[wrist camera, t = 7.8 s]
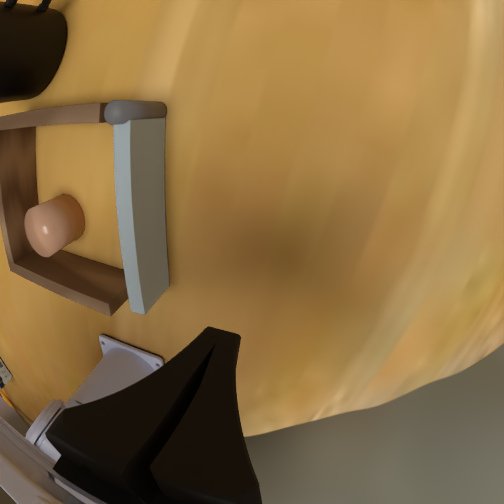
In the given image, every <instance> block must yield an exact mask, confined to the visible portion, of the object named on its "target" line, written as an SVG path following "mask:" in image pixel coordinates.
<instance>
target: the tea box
mask: <svg viewBox="0 0 504 504" xmlns="http://www.w3.org/2000/svg"><path fill="white" fill-rule="evenodd" d="M11 378H12V375H11V374H10V372H9V371H8V370H7V368H6V367H5V365H4V364H3V362H2V360H1V359H0V390H1V389H2V388H3V387H4V386H5V385H6V384H7V383H8V381H9V380H10V379H11Z"/></svg>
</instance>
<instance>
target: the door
mask: <svg viewBox="0 0 504 504" xmlns="http://www.w3.org/2000/svg"><path fill="white" fill-rule="evenodd" d="M166 114H167V107H166V105H165V104H164V103H162V102H156V101H132V100H113V101H111V102H109V103H108V104H107V106H106V108H105V111H104V117H105V120H106V122H107V123H108V124H110V125H114V172H115V191H116V205H117V217H118V227H119V236H120V245H121V252H122V260H123V267H124V274H125V280H126V286H127V292H128V297H129V303H130V308H131V311H132V312H135V313H139V314H143V315H145V314H146V313H147V312H148V311H149V310H150V308H151V307H152V306H153V305H154V304H155V302H156V301H157V300H158V299H159V298H160V296H161V295H162V294H163V293H164V292H165V290H166V289H167V288H168V287H169V286H170V285H169V272H168V258H167V241H166V219H165V116H166Z"/></svg>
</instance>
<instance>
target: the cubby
mask: <svg viewBox="0 0 504 504" xmlns="http://www.w3.org/2000/svg"><path fill="white" fill-rule="evenodd" d="M107 104H108V103H92V104H80V105H70V106H61V107H53V108H46V109H39V110H33V111H27V112H21V113H16V114H11V115H6V116H2V117H0V225H1V230H2V236H3V241H4V245H5V250H6V254H7V259H8V263H9V267H10V270H11V271H12V272H14V273H16V274H18V275H20V276H22V277H24V278H26V279H28V280H30V281H32V282H34V283H36V284H38V285H40V286H42V287H44V288H46V289H48V290H50V291H52V292H54V293H57V294H59V295H61V296H63V297H65V298H68V299H70V300H72V301H74V302H77V303H79V304H81V305H84V306H86V307H89V308H91V309H93V310H96V311H98V312H101V313H103V314H106V315H108V316H112V315H113V314H114V313H115V312H116V311H117V309H118V308H119V307H120V306H121V305H122V304H123V303H124V302H125V301H126V300H127V299H128V298H129V297H128V292H127V286H126V280H125V274H124V270H122V269H119V268H115V267H112V266H109V265H106V264H102V263H99V262H96V261H93V260H90V259H87V258H83V257H80V256H77V255H74V254H71V253H68V252H65V251H62V250H59V251H57V252H56V253H54V254H53V255H51V256H50V257H43V256H41V255H39V254H38V253H37V252H36V251H35V250H34V249H33V247H32V246H31V244H30V242H29V240H28V238H27V235H26V231H25V216H26V213H27V211H28V210H29V209H30V208H32V207H35V206H37V205H38V196H37V183H36V165H35V126H44V125H58V124H77V123H102V122H106V120H105V117H104V111H105V108H106V106H107Z"/></svg>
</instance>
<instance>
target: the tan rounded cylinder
mask: <svg viewBox="0 0 504 504" xmlns="http://www.w3.org/2000/svg"><path fill="white" fill-rule="evenodd" d="M84 229H85V218H84V213H83V210H82V208H81V206H80V204H79V203H78V201H77V200H76V199H75V198H74V197H72V196H71V195H68V194H62V195H60V196H57V197H55V198H53V199H50V200H48V201H46V202H44V203H41V204H39V205H37V206H35V207H32V208H30V209H29V210H28V211H27V213H26V216H25V231H26V235H27V238H28V240H29V242H30V244H31V246H32V247H33V249H34V250H35V251H36V252H37V253H38V254H39V255H41V256H43V257H50V256H51V255H53V254H54V253H56V252H57V251H59V250H60V249H62V248H64V247H65V246H67V245H68V244H70V243H72V242H73V241H75V240H76V239H78V238H80V237H81V236H82V234H83V232H84Z"/></svg>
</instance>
